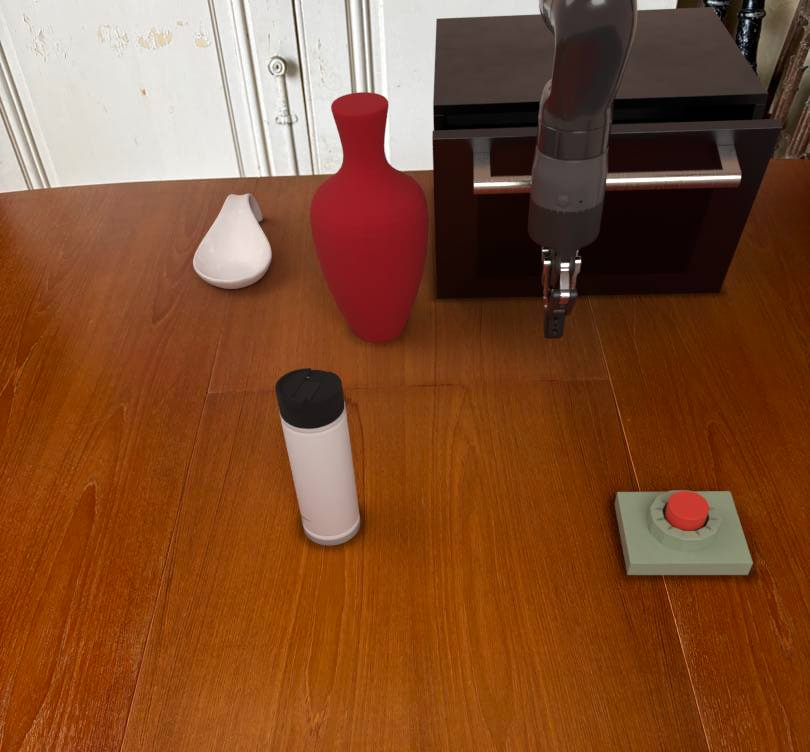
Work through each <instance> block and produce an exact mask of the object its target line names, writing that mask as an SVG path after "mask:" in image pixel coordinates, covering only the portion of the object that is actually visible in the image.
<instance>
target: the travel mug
mask: <svg viewBox="0 0 810 752" xmlns="http://www.w3.org/2000/svg"><path fill="white" fill-rule="evenodd" d="M274 389H275V395H276V401H277V404H278V405H277V406H278V411H279V417H280V421H281V422H280V423H281V427H282V431H283V437H284V441H285V445H286V451H287V455H288V460H289V465H290V470H291V474H292V480H293V483H294V490H295V494H296V498H297V503H298V509H299V513H300V517H301V523H302V528H303V532H304V534H305V536H307V538H308V539H309V540H310V541H312V542H313V543H315V544H318V545H321V546H327V547H328V546H338V545H341V544H344V543H346V542H348V541H350V540H351V539H352V538H354V537H355V536H356V534H357V533H358V532H359V530H360V527H361V515H360V508H359V507H360V506H359V499H358V492H357V485H356V484H357V483H356V476H355V469H354V460H353V453H352V446H351V445H352V444H351V438H350V431H349V423H348V415H347V407H346V402H345V397H344V389H343V381H342V379H341V377H340V376H339V375H338V374H337V373H335V372H332V371H330V370H328V371H327V370H324V369H323V370H322V369H312V368H311V367H307V368H305V367H303V368H298V369H294V370H291V371H289V372H287V373H284V375H283V374H282V376H280V377H279V378H278V380H277V381H276V383H275V386H274Z"/></svg>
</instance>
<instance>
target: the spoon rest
mask: <svg viewBox="0 0 810 752" xmlns="http://www.w3.org/2000/svg"><path fill="white" fill-rule="evenodd" d="M263 220H264V219H263V214H262V211H261V207H260V206H259V204H258V202H257V200H256V199H255V197H254V195H253V194H251V193H245V194H234V193H230V194H229V195H227V196H226V199H225V201H224V203H223V205H222V208H221V209H220V211H219V213H218V215H217V216H216V218H215V220H214V222H213V223H212V225H211V227H210V228H209V230H208V231H207V232H206V234H205V235H204V237H203V239H202V240H201V242H200V243H199V245H198V247H197V249H196V251H195V253H194V256H193V259H192V266H193V270H194V271H195V273H196V274H197V275H198V276H199V277H200V278H201V279H202V280H203V281H205V282H206V283H208V284H210V285H211V286H214V287H217V288H221V289H226V290H227V289H228V290H236V289H237V290H238V289H243V288H246V287H248V286H252V285H253V284H255V283H257V282H259V281H260V280H261V279H262V278H263V277H264V276H265V274H266V273H267V272H268V270H269V268H270V265H271V262H272V258H273V252H272V251H273V250H272V247H271V243H270V242H269V239H268V237H267V236H266V234H265V232H264V230H263V228H262V227H261V225H260V223H261V222H262V221H263Z"/></svg>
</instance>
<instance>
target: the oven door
mask: <svg viewBox="0 0 810 752" xmlns="http://www.w3.org/2000/svg"><path fill="white" fill-rule="evenodd" d="M782 130H783V125H782V122H781V119H780V118H769V119H768V118H767V119H761V120H735V121H706V122H676V123H646V124H617V125H611V132H610V140H609V149H608V174H607V182H606V189H605V196H604V203H603V210H602V218H601V225H600V232H599V235H598V237H597V238H596V240H595V241H593V242H592V243H591V244H589V245H587V246H584V247H582V248H581V249H579V250H578V256H581V266H580V272H579V273H578V274H577V278H576V286H575V289H577V292H578V297H587V296H589V297H590V296H591V297H593V296H634V295H635V296H637V295H640V296H641V295H643V296H644V295H682V294H683V295H684V294H690V295H691V294H720V293H721V291H722V287H723V285H724V282H725V280H726V277H727V274H728V272H729V269H730V266H731V263H732V261H733V259H734V257H735V256H734V255H735V253H736V251H737V247H738V245H739V243H740V240H741V238H742V234H743V232H744V230H745V227H746V224H747V223H748V222H747V221H748V219H749V216H750V214H751V211H752V208H753V206H754V203H755V201H756V199H757V196H758V193H759V190H760V187H761V185H762V182H763V180H764V177H765V175H766V172H767V169H768V167H769V164H770V161H771V160H772V156H773V153H774V151H775V148H776V146H777V143H778V140H779V137H780V135H781V133H782ZM431 133H432V135H431V136H432V138H431V139H432V140H431V141H432V174H433V175H432V177H433V209H434V210H433V215H434V243H435V244H434V246H435V247H434V248H435V249H434V251H435V278H436V279H435V281H436V285H435V286H436V300H444V299H445V300H446V299H450V300H451V299H452V300H453V299H490V298H491V299H493V298H494V299H495V298H497V299H498V298H532V297H533V298H538V297H539V298H540V297H541V298H543V296H544V294H543V287H542V280H541V274H542V259H541V245H539V244H537V243H536V242H534V241H533V240H532V239H531V237H530V236H529V233H528V217H529V203H530V188H531V173H532V165H533V159H534V155H535V150H536V138H537V127H527V128H498V129H468V130H438V131H434V130H432V132H431Z"/></svg>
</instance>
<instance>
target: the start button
mask: <svg viewBox="0 0 810 752" xmlns="http://www.w3.org/2000/svg"><path fill="white" fill-rule="evenodd" d="M690 491H691V490H690ZM690 491H680V492H677V493H674V494H673V495H672V496H671V497H670V498H669V500H668V504H667V507H666V511H665V517H666V519H667V521H668V522H669V523H670V524H671V525H672V526H673V527H675V528H678V529H680V530H684V531H693V530H697V529H699V528H701V527H702V526H703V525H704V523H705V521H706V518H707V515H708V512H709V504H708V502H707V501H706V499H705V498H704V497H702V496H701V495H699V494H697V493H694V492H690Z"/></svg>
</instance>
